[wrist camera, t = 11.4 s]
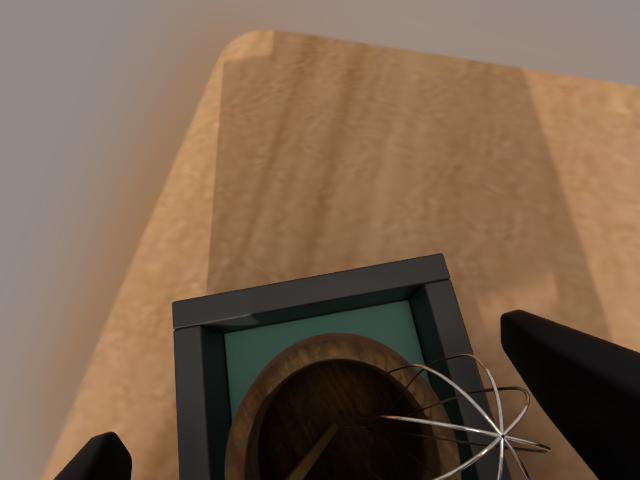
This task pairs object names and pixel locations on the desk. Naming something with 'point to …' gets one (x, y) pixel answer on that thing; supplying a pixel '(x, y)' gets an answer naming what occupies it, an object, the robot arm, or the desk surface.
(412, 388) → the utensil holder
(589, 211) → the desk surface
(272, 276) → the desk surface
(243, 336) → the organiser
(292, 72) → the desk surface
